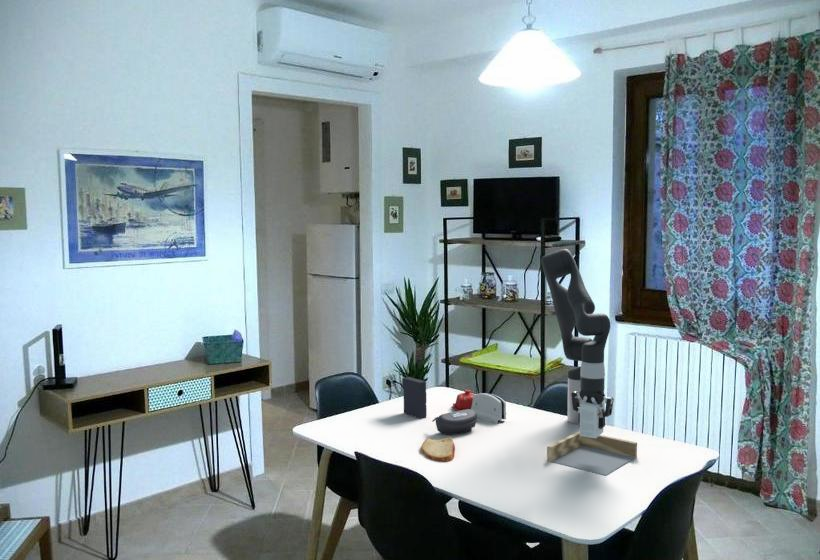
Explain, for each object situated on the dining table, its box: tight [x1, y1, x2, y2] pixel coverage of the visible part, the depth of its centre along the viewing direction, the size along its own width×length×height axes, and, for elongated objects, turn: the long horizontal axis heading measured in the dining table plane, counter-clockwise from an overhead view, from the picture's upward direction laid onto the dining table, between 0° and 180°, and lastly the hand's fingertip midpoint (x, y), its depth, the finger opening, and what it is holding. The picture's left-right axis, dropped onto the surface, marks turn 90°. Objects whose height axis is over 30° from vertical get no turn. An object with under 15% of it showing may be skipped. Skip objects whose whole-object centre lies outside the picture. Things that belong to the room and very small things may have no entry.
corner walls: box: [546, 430, 638, 463], centre depth 225 cm, size 22×20×5 cm
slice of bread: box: [420, 436, 456, 463], centre depth 234 cm, size 18×18×4 cm
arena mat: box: [550, 446, 636, 477], centre depth 225 cm, size 21×19×1 cm
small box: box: [579, 400, 605, 438], centre depth 223 cm, size 8×6×10 cm
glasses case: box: [431, 409, 479, 435], centre depth 256 cm, size 18×10×8 cm, turn 124°
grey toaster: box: [471, 392, 507, 424], centre depth 274 cm, size 17×5×10 cm, turn 38°
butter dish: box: [452, 389, 476, 411], centre depth 288 cm, size 12×12×8 cm
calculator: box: [401, 376, 428, 420], centre depth 278 cm, size 11×4×15 cm, turn 39°
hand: (591, 426), depth 223 cm, fingers closed on small box, 6 cm apart
